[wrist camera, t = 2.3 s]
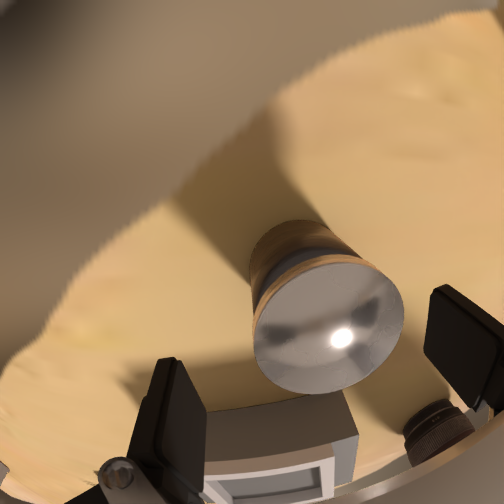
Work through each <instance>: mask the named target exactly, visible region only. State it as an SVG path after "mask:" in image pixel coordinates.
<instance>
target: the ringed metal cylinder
mask: <svg viewBox="0 0 504 504" xmlns="http://www.w3.org/2000/svg"><path fill="white" fill-rule="evenodd" d="M250 280H251V292H252V303H253V314H254V319H253V326H252V327H253V345H254V353H255V358H256V361H257V363H258V366H259V367H260V369H261V371H262V372H263V373H264V375H265V376H266V377H267V378H268V379H269V380H270V381H272V382H273V383H274V384H276V385H278V386H279V387H281V388H284V389H286V390H289V391H292V392H296V393H302V394H323V393H329V392H334V391H338V390H341V389H344V388H346V387H349V386H351V385H353V384H355V383H357V382H359V381H361V380H362V379H364V378H365V377H367V376H368V375H370V374H371V373H372V372H374V371H375V370H376V369H377V368H378V367H379V366H380V365H381V364H382V363H383V362H384V361H385V360H386V359H387V357H388V356H389V355H390V353H391V352H392V350H393V349H394V347H395V345H396V343H397V342H398V339H399V337H400V334H401V331H402V327H403V321H404V307H403V301H402V298H401V295H400V293H399V291H398V289H397V288H396V286H395V285H394V284H393V282H392V281H391V280H390V279H388V278H387V277H386V276H385V275H384V274H383V273H382V272H381V271H380V270H378V269H377V268H376V267H375V266H374V265H372V264H371V263H369V262H368V261H366V260H364V259H362V258H361V257H360V256H359V255H358V254H357V253H356V252H354V251H353V250H352V249H351V248H350V247H349V246H348V245H346V244H345V243H344V242H343V241H342V240H341V239H339V238H338V237H337V236H336V235H335V234H334V233H332V232H331V231H330V230H329V229H328V228H326V227H325V226H323V225H321V224H319V223H316V222H313V221H308V220H293V221H288V222H285V223H282V224H280V225H277V226H276V227H274V228H272V229H271V230H270V231H268V232H267V233H266V234H265V235H264V236H263V237H262V238H261V239H260V240H259V242H258V243H257V245H256V247H255V248H254V251H253V253H252V256H251V260H250Z"/></svg>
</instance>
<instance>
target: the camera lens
mask: <svg viewBox="0 0 504 504" xmlns="http://www.w3.org/2000/svg"><path fill="white" fill-rule="evenodd" d="M473 432H475V429H474V427H473V425H472V424H471V422H470V421H469V419H468V418H467V417H466V415H465V414H463V413H462V411H461V410H460V409H459V408H458V407H455V406H453V405H452V403H451V402H450V401H449V400H440V401H437V402H435V403H432V404H431V405H429V406H427V407H426V408H424V409H423V410H421V411H420V412H418V413H417V414H416V415H415V416H414V417H413V418H412V419H411V420H410V421H409V422H408V423H407V424H406V426H405V427H404V430H403V435H404V438H405V440H406V441H405V444H404V446H405V449H406V451H407V455H408V458H409V461H410V463H411V465H412V467H415V466H417V465H419V464H421V463H423V462H425V461H427V460H429V459H431V458H433V457H435V456H436V455H438V454H440V453H442V452H443V451H445V450H447V449H448V448H450V447H452V446H453V445H455V444H457V443H458V442H460V441H461V440H463V439H464V438H466V437H467V436H469V435H470V434H472V433H473Z"/></svg>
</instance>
